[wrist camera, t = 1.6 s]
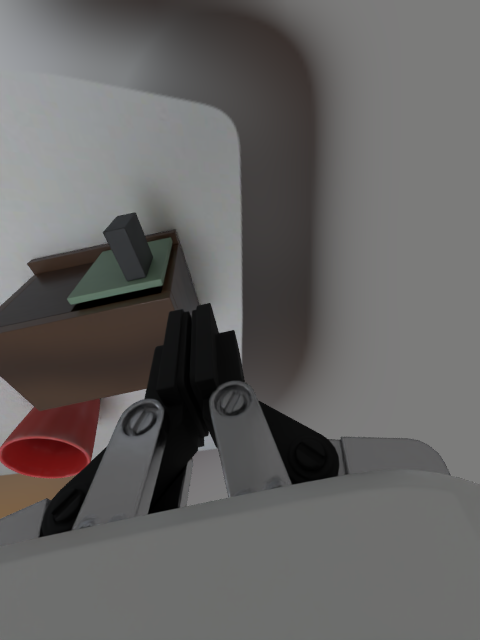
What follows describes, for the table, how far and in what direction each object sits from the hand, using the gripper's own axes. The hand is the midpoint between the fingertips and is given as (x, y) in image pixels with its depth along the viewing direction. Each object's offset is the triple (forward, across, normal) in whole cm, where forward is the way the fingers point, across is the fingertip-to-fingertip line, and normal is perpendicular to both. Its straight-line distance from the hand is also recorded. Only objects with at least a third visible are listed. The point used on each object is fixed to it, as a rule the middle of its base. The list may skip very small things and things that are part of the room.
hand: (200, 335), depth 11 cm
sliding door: (+19, +7, 0) cm, 21 cm away
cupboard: (+21, +11, +7) cm, 24 cm away
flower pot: (+21, +27, +24) cm, 42 cm away
